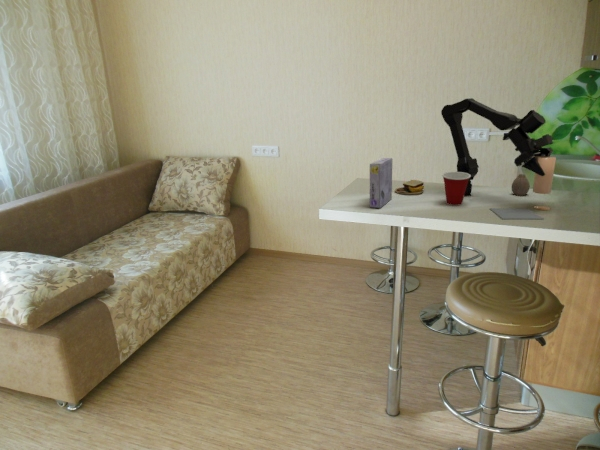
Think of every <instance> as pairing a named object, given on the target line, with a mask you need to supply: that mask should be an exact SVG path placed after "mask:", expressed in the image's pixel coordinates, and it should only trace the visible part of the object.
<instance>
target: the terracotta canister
mask: <svg viewBox="0 0 600 450" xmlns="http://www.w3.org/2000/svg"><path fill="white" fill-rule="evenodd" d="M556 159H557V157H556V156H551V155H550V156H538V163H539V165H540V166H541V168H542V169H543V171H544V173H545V175H544V176H541V175H539V174H537V173H535V172H534V179H533V180H534V181H533V187H532V193H535V194H542V195H547V194H548V195H549V194H551V192H552V188H553V187H552V186H553V180H554V176H555V175H554V174H555V168H556Z"/></svg>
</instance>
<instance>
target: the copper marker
mask: <svg viewBox="0 0 600 450" xmlns="http://www.w3.org/2000/svg"><path fill="white" fill-rule="evenodd" d="M537 206H538V208H537ZM533 208H534V209H537V210H542V211H543V210H544V211H546V210H551V207H549V206H546V205H545V206H544V205H535V206H533Z"/></svg>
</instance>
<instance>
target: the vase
mask: <svg viewBox="0 0 600 450" xmlns="http://www.w3.org/2000/svg"><path fill="white" fill-rule="evenodd" d="M530 188H531V186H530V181H529V179H528V178H527V177H526V174H523V173H520V174H518V175H517V177H516V178H514V180H513V181H512V183H511V192H512V194H513V195H514V194H515V196H517V195H518V196H520V197H523V196H526V195H527V194H528V193H529V191H530Z"/></svg>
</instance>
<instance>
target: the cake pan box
mask: <svg viewBox="0 0 600 450" xmlns="http://www.w3.org/2000/svg"><path fill="white" fill-rule="evenodd" d="M392 198H393V158H392V157H385V158H384V157H383V158H380V159H378V160H376V161H374V162H371V163H369V208H373V209H381V208H382V207H384V206H386V204H387V205H388V202H390V201H391V200H392Z"/></svg>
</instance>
